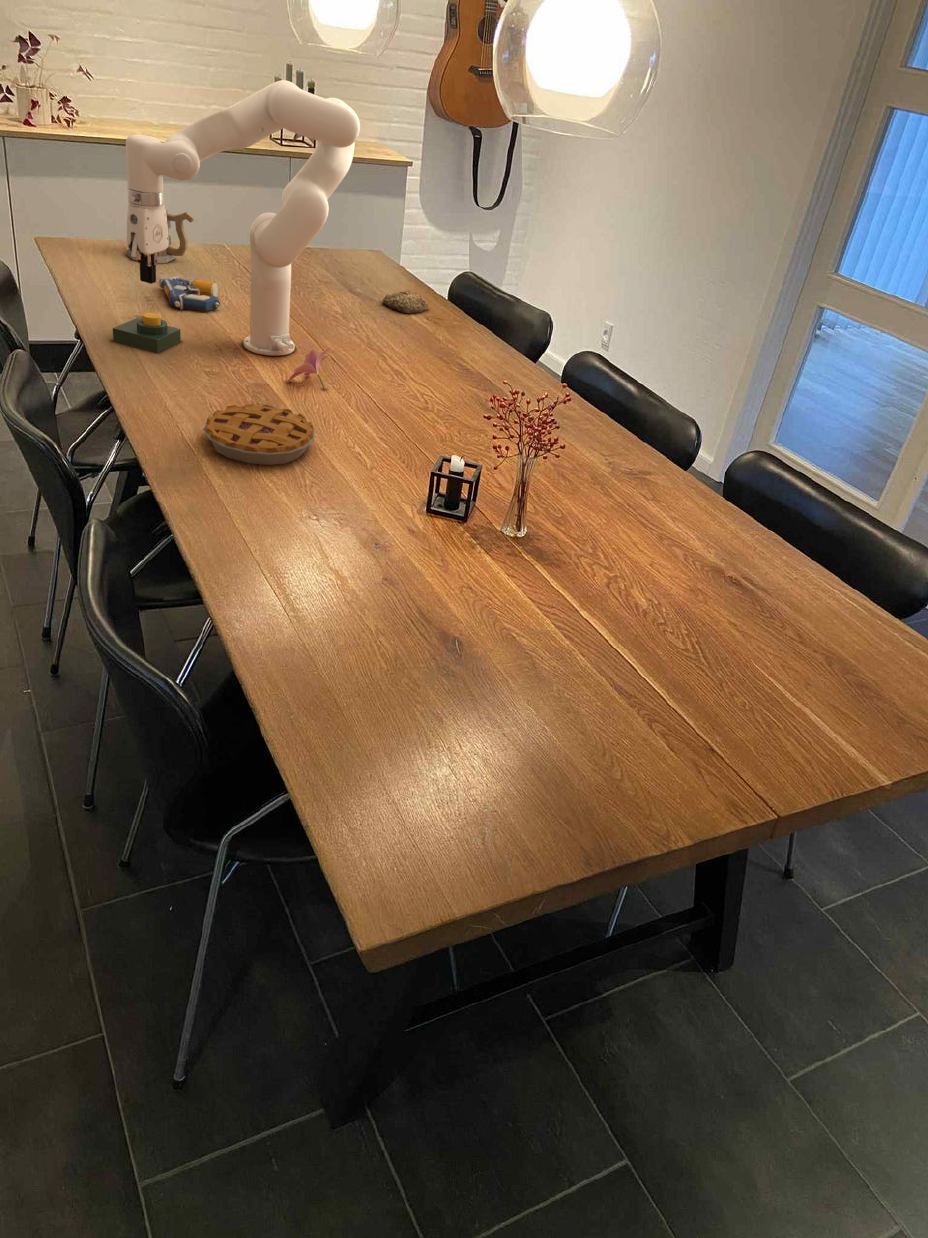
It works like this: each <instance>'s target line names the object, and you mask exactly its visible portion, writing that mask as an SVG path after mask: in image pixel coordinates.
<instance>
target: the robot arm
mask: <svg viewBox="0 0 928 1238" xmlns="http://www.w3.org/2000/svg"><path fill="white" fill-rule="evenodd" d="M283 129H284V130H287V131H289V132H292V133H294V134H296V135H299V136H302V137H305V138H307V139H310V140H313V141H316V142H317V144H316V147H315V149H314V150H313V152H312V154H311V155H310V156H309V158H308V159H307V160H306V162H305V163H304V164H303V165H302V167H301V168H300V169H299V170H298V172H297V173H296V174H295V175H294V177H293V178H292V179H291V180H290V181H289V182H288V183H287V184H286V186H285V187H284V189H283V190H282V194H281V203H282V207H281V208H280V209H279V211H278V212H277V213H275V212H264V213H261V214H260V215H258V216H257V217H256V218H255V219H254V221H253V222H252V224H251V227H250V232H249V246H250V248H249V249H250V306H249V307H250V309H249V310H250V312H249V313H250V315H249V316H250V318H249V321H250V322H249V336H246V337H244V339H243V347H244V348H245V349H246V350H248V351H249V352H251V353H254V354H258V355H262V356H263V355H264V356H271V357H272V356H273V357H275V356H276V357H278V356H286V355H290V354H291V353H294V352H295V348H296V347H295V346H296V345H295V342H293V340H291V334H290V317H291V316H290V314H291V313H290V312H291V288H292V263H294V261H296V259H298V258H299V256H300V255H301V254H302V253H303V252H304V250H305V249H306V248H307V247H308V246H309V244H311V242H312V241H313V240H314V239H315V237H316V236H317V235H318V234H319V233H320V231H321V230H322V228H323V227H324V225H325V224H326V222H327V219H328V217H329V212H330V207H329V202H328V200H329V198H330V197H331V196H332V195H333V194H334V192H335V191H336V189H337V188H338V187H339V185H340V183H342V182H343V180H344V178H345V177H346V175H347V174H348V172H349V170H350V168H351V166H352V163H353V159H354V153H355V145H356V143H355V142H356V141H357V139H358V138H359V135H360V132H361V123H360V119H359V117H358V115H357V113H356V112H355V111H354V109H353V108H351V106H350V105H348V104H347V103H346V102H345V101H343V100H341V99H340V98H337V97H327V98H325V97H321V96H319V95H316V94H314V93H312V92H308V91H306V90H304V89H302V88H300V87H299V86H298V85H296V84H295V83H293V82H291V80H290V81H289V80H285V79H282V80H277V81H275V82H272V83H271V84H268V85H267V86H265V87H263V88H261V89H260V90H258V91H255V92H254V93H252V94H250V95H248V96H247V97H245V98H243V99H241V100H240V101H238V102H236V103H234V104H232V105H230V106H228V107H226V108H224V109H220V110H219V111H216V112H214V113H213V114H210V115H208V116H206V117H203V118H201V119H199V120H197V121H194V122H193V123H190V124H189V125H187V126H186V127H184V128H182V129H180V130H178V131H176V132H174V133H173V134H171V135H170V136H168V137H167V139H165V141H163V142H162V141H161V140H160V139H158V138H157V137H154V136H151V135H146V134H130V135H128V136H127V138H126V140H125V158H126V182H127V183H126V187H127V204H128V205H127V216H126V243H127V248H128V249H129V250H130V251H132V254H131V257H132V258H133V259H137V260H138V261H137V264H138V265H139V280H140V282H143V283H146V284H151V285H152V284H154V283H155V284H156V282H157V266H156V265H157V264H158V263H157V257H158V255H159V254H160V253H161V252H162V251H163V250H165V249H167V248H168V246H169V238H168V223H167V215H166V210H167V209H166V206H165V204H164V203H165V201H164V177H166V178H167V177H168V178H170V179H175V180H179V181H189V180H192V179H194V178H195V177H196V176H197V175H198V173H199V171H200V167H201V163H202V162H203V161H205V160H207V159H208V158H210V157H212V156H215V155H217V154H219V153H222V152H226V151H231V150H242V149H243V150H244V149H247V148H250V147H251V146H253V145H256V144H257V143H259V142H260V141H262V140H264V139H266V138H268V137H269V136H272V135H274V134H275V133H278V132H280V131H281V130H283ZM133 259H132V260H133Z"/></svg>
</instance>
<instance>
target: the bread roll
mask: <svg viewBox="0 0 928 1238" xmlns="http://www.w3.org/2000/svg"><path fill="white" fill-rule="evenodd" d="M382 302H383V304H384V305H386V306H387V307H389V308H392V309H393V310H395V311H398V312H401V313H403V314H420V313H422V312H425V311H427V310H428V307H429V303H428V302H427V301H426V299H425V298H424V297H423V296H422V295H420V294H419V293H417V292H415V291H411V290H402V291H399V292H393V293H387V294H385V296H384V297H383V299H382Z"/></svg>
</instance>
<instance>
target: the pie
mask: <svg viewBox="0 0 928 1238" xmlns="http://www.w3.org/2000/svg"><path fill="white" fill-rule="evenodd" d="M203 431H204V433H205V435H206V437H207V438H208V440H209V441H211V444H212V445H213V447H214V449H215V452H216V453H218V454H219V455H222V456H224V457H226V458H228V459H231V460H235V461H239V462H242V463H246V464H255V465H264V466H265V465H266V466H272V465H285V464H288V463H291V462H294V461H295V460H297V459H298V458H300V457H301V456H302V455H303V454H304V453H305V452H306V450H307V449H308V448H309V446H310V444H312V442H314V441H315V437H316V436H315V435H316V430H315V428H314V425H313V423H312V422H311V421H309V420H307V417H306V416H305V415H304V414H302V413H298V414H295V413H294V412H293V410H292V409H289V408H283V409H280V408H277V407H275V406H273V405H270V404H264V405H262V406H260V405H258V406H257V405H255V404H253V403H249V404H245V405H243V406H237V405H235V404H233V405H228V406H226V408H225V409H223V410H221V409H217V410H215V411H214V412H213V414H212V416H208V417H207V419H206V422H205V424H204V427H203Z"/></svg>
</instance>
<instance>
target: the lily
mask: <svg viewBox="0 0 928 1238" xmlns="http://www.w3.org/2000/svg"><path fill="white" fill-rule="evenodd" d="M331 349H332V346H330V347H328V348H326V349H324V350H323V351H322V352H320V353H318V351H317V349H316V348H312V349H311V350H310V351H309V352H308V353H307V354H306V356H305V358H304V360H303V364H301V365H299V366H298V367H296V368H295V369H293V372H294V373H292V374H291V375H290V377H289V378H288V380H287V381H286V383H289V382H290V381H292V380H293V379H295V378H296V377H298V376H299V375H301V374H303V375H304V377H306V378H309V376H310V375H311V374H316V376H317V377H318V379H319V382H320V384H321V386H322V388H323V390H326V387H325V385H324V383H323V380H322V378H321V376H320V375H319V367H320V364H321V362H322V361H323V360H325V359H327V358H329V356H328V355H327V353H328V352H329V350H331Z"/></svg>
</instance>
